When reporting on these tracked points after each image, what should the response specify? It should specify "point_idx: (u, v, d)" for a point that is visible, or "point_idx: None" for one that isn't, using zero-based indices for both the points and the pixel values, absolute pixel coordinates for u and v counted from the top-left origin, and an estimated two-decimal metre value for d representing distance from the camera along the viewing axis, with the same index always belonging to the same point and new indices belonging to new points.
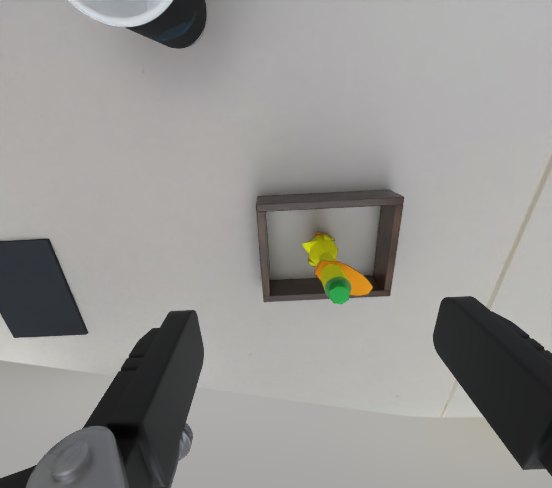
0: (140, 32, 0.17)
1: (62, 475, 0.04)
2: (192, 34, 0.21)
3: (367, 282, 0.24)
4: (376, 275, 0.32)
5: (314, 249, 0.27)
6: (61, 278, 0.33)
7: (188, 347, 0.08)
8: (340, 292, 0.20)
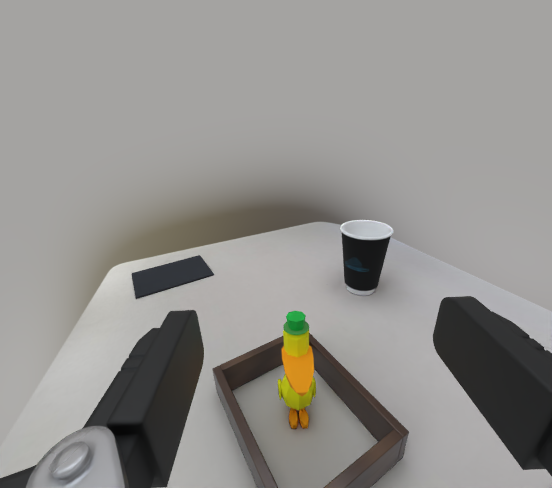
0: (346, 251, 0.42)
1: (62, 475, 0.04)
2: (359, 280, 0.42)
3: (309, 380, 0.20)
4: None
5: None
6: (186, 281, 0.50)
7: (188, 347, 0.08)
8: (298, 315, 0.22)
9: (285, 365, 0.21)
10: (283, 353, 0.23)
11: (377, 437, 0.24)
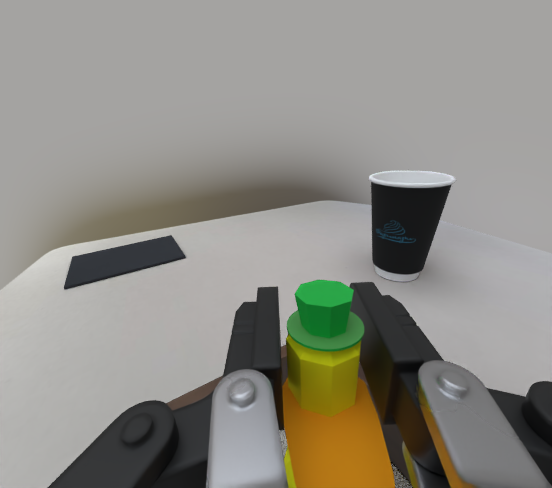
0: (379, 212, 0.27)
1: (236, 399, 0.05)
2: (399, 257, 0.28)
3: None
4: None
5: None
6: (145, 265, 0.35)
7: None
8: (333, 290, 0.07)
9: (294, 449, 0.07)
10: (287, 403, 0.08)
11: None
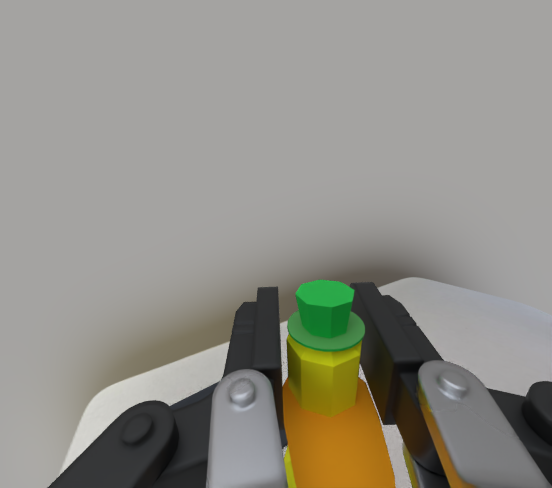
0: None
1: (236, 399, 0.05)
2: None
3: None
4: None
5: None
6: None
7: None
8: (334, 290, 0.07)
9: (295, 450, 0.07)
10: (287, 403, 0.08)
11: None
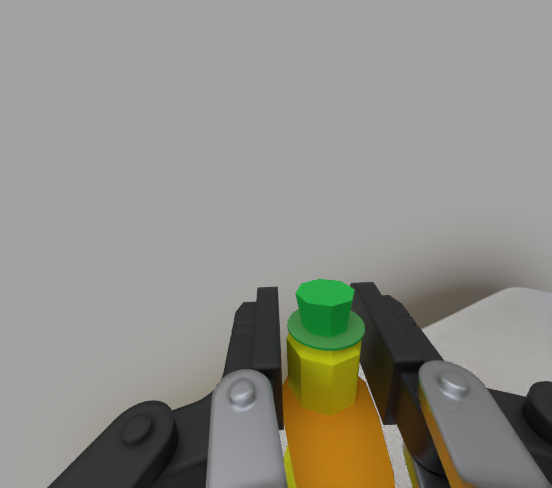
0: None
1: (235, 399, 0.05)
2: None
3: None
4: None
5: None
6: None
7: None
8: (334, 289, 0.07)
9: (294, 448, 0.07)
10: (287, 402, 0.08)
11: None
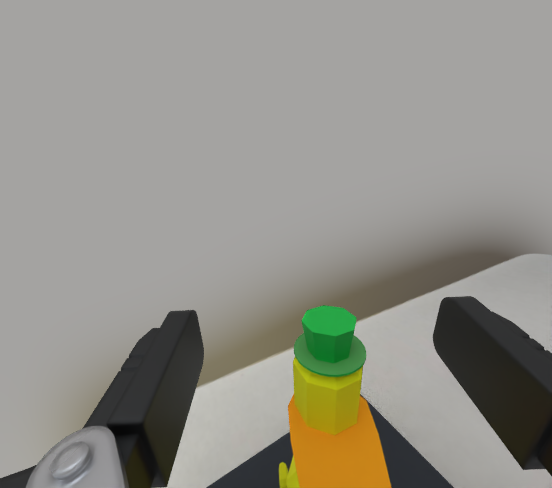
0: None
1: (62, 475, 0.04)
2: None
3: None
4: None
5: None
6: None
7: (188, 347, 0.08)
8: (337, 317, 0.08)
9: (301, 466, 0.07)
10: (293, 421, 0.08)
11: None
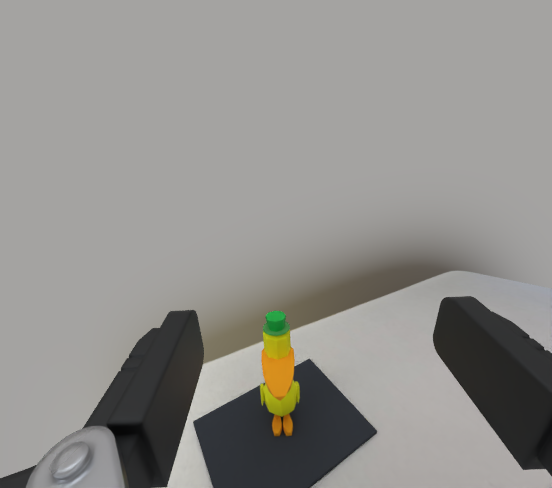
0: None
1: (62, 475, 0.04)
2: None
3: (288, 383, 0.19)
4: None
5: None
6: (331, 463, 0.22)
7: (188, 347, 0.08)
8: (278, 315, 0.21)
9: (264, 368, 0.20)
10: (263, 355, 0.22)
11: None
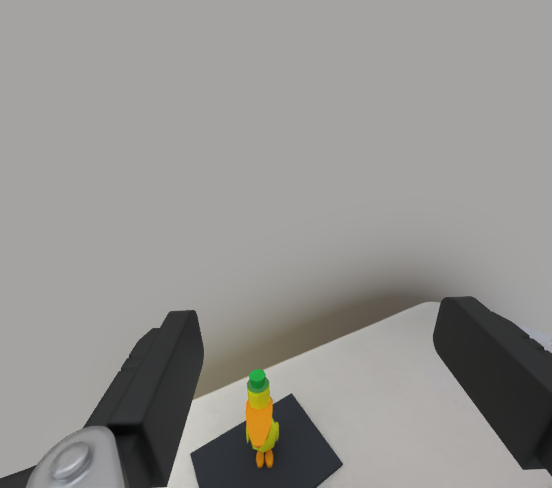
0: None
1: (62, 475, 0.04)
2: None
3: (266, 433, 0.24)
4: None
5: None
6: None
7: (188, 347, 0.08)
8: (260, 374, 0.26)
9: (247, 418, 0.25)
10: (247, 406, 0.26)
11: None
